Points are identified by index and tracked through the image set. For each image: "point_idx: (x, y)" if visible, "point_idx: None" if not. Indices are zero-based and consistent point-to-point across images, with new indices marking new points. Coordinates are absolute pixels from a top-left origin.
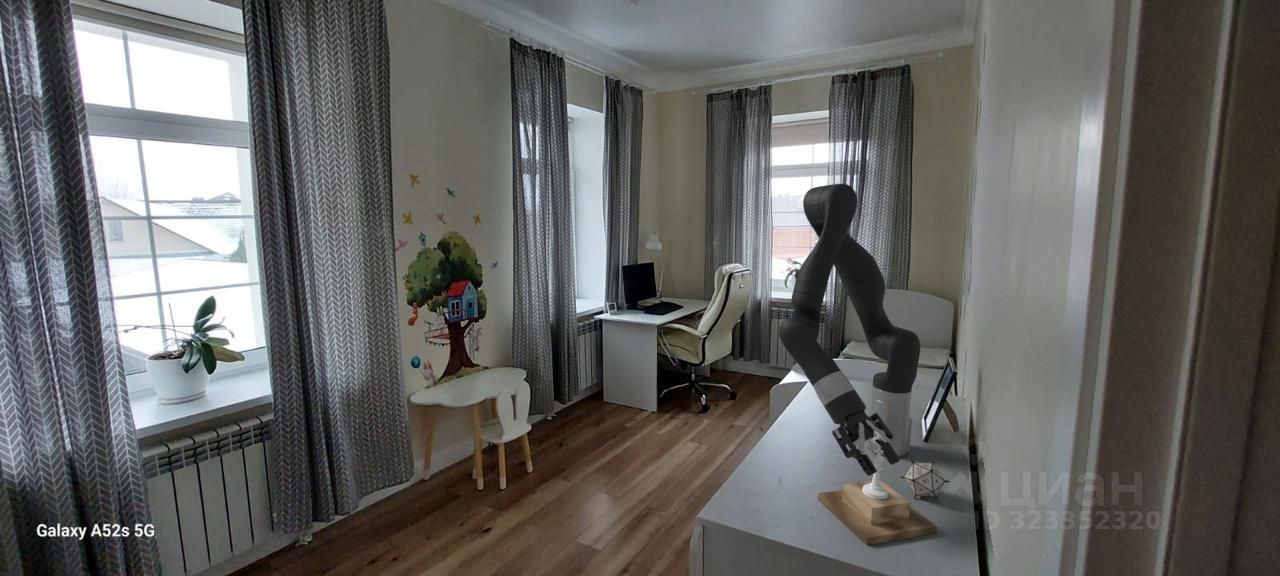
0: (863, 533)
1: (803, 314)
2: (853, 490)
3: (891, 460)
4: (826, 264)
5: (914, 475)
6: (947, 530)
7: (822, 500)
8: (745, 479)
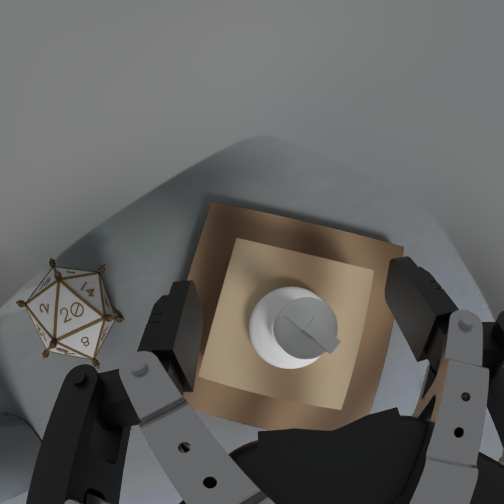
0: None
1: None
2: (342, 371)
3: (197, 316)
4: None
5: (90, 320)
6: (184, 204)
7: None
8: None
